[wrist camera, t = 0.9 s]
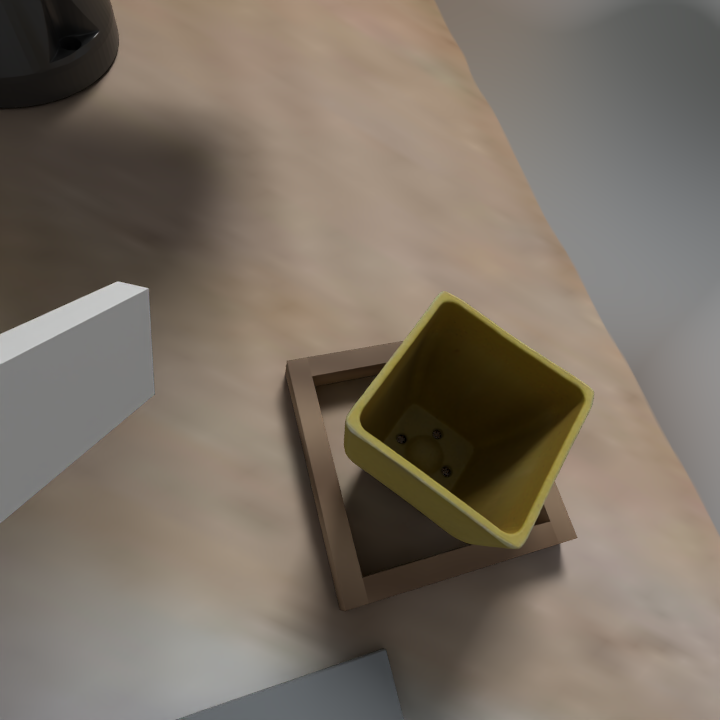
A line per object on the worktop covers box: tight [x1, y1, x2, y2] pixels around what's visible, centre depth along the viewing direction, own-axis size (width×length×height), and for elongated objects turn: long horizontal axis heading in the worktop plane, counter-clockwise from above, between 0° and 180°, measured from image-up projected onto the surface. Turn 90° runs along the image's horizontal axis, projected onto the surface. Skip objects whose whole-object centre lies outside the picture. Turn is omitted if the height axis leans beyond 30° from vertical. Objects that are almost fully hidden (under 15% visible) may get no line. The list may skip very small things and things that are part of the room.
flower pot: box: [344, 291, 594, 549], centre depth 26 cm, size 9×9×9 cm
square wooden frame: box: [285, 341, 577, 611], centre depth 30 cm, size 13×13×2 cm
